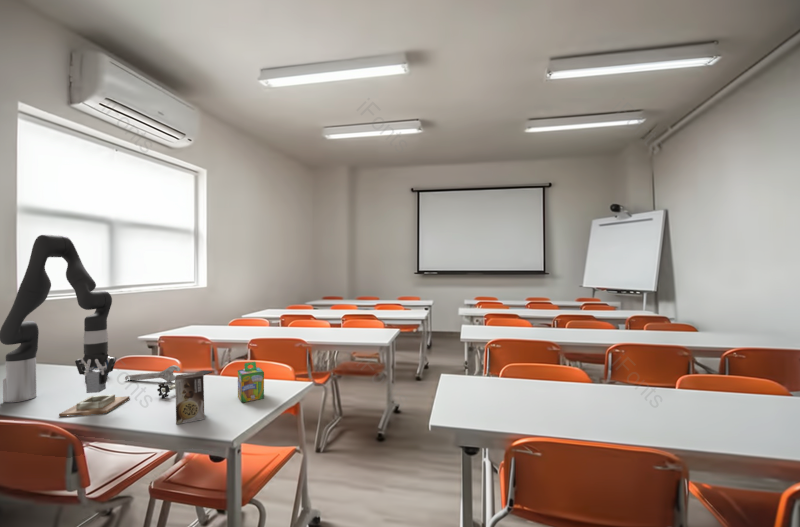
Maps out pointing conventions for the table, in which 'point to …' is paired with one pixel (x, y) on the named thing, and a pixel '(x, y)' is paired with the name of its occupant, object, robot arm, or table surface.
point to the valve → (165, 389)
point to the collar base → (95, 405)
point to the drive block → (94, 382)
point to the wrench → (156, 374)
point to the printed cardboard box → (189, 397)
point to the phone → (206, 372)
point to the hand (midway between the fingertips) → (96, 383)
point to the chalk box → (250, 383)
